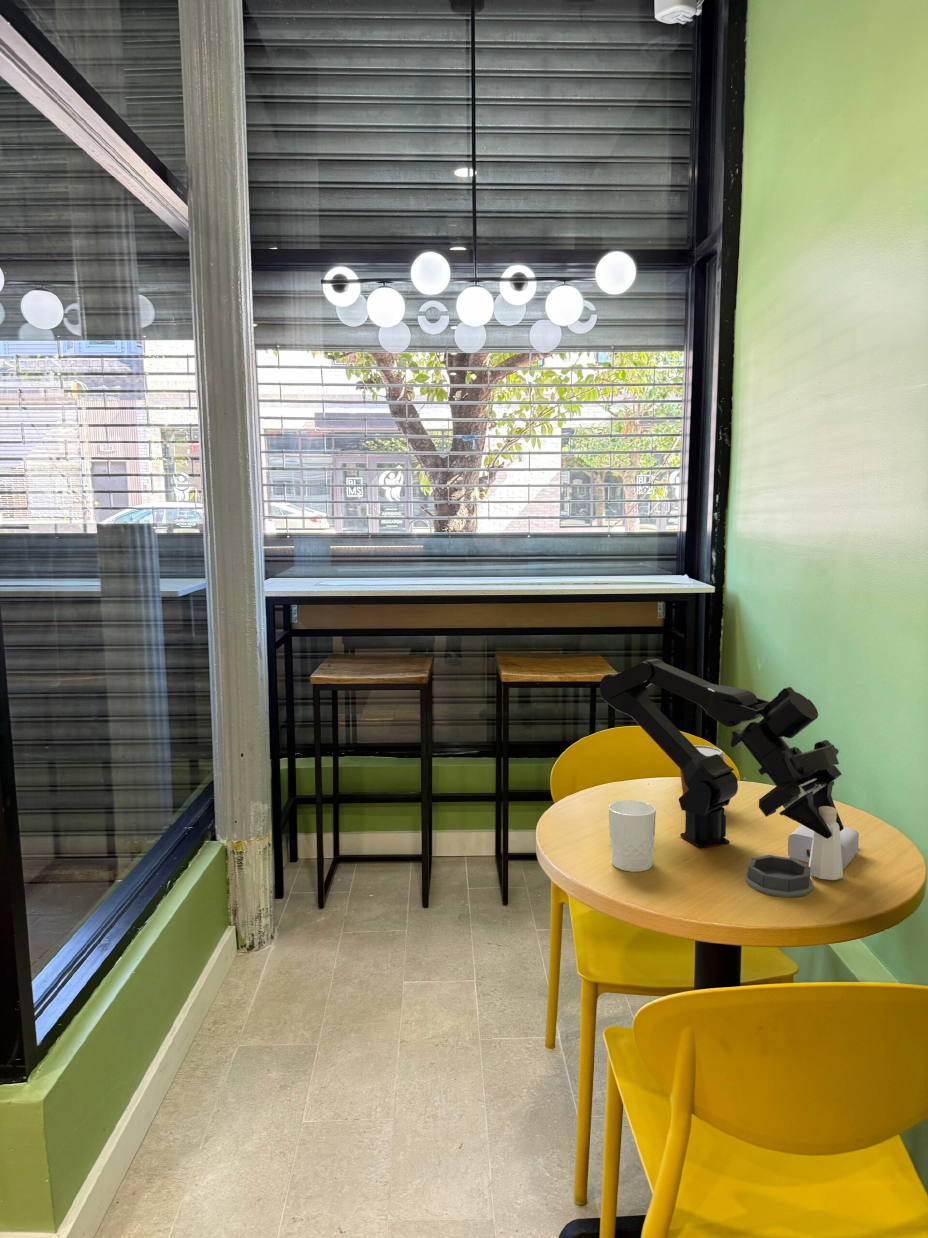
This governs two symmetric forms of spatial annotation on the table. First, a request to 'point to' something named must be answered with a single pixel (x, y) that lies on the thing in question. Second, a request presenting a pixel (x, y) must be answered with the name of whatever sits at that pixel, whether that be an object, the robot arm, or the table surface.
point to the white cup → (632, 834)
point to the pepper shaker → (827, 849)
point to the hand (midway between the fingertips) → (835, 833)
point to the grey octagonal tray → (779, 876)
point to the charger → (803, 842)
